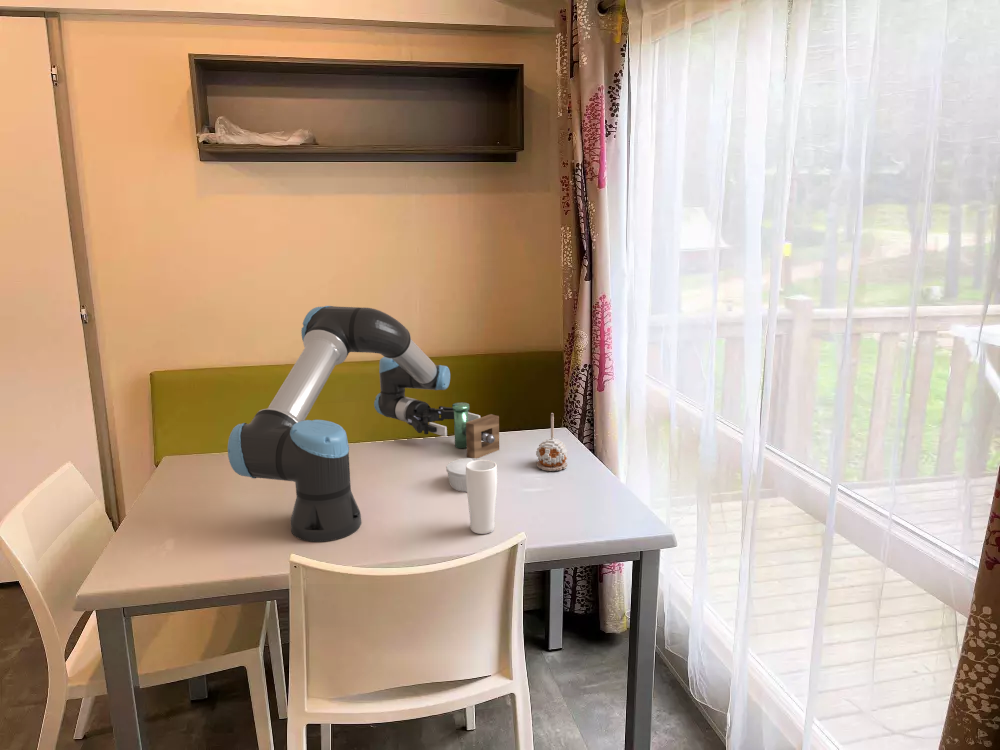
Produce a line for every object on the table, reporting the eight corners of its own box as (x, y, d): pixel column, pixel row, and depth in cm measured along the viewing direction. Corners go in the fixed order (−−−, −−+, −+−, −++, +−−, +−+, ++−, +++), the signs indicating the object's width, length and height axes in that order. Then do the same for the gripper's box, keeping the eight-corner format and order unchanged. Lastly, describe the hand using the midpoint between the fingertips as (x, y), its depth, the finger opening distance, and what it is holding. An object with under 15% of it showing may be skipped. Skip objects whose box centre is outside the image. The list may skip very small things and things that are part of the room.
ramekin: (500, 483, 185) (500, 463, 184) (472, 498, 176) (472, 477, 175) (466, 473, 191) (465, 454, 190) (438, 487, 183) (437, 467, 182)
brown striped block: (466, 456, 203) (466, 422, 200) (491, 447, 210) (491, 414, 208) (474, 459, 201) (473, 424, 199) (499, 449, 208) (498, 416, 206)
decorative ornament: (532, 469, 193) (532, 415, 190) (544, 460, 200) (544, 407, 196) (559, 474, 190) (560, 419, 186) (571, 464, 196) (571, 411, 193)
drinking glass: (488, 539, 155) (487, 473, 152) (461, 532, 159) (459, 467, 155) (503, 526, 161) (502, 462, 157) (477, 520, 164) (475, 457, 161)
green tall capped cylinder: (450, 445, 211) (448, 405, 208) (461, 441, 214) (460, 401, 211) (487, 458, 201) (487, 415, 198) (499, 453, 204) (499, 411, 201)
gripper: (443, 414, 234) (492, 427, 220) (382, 433, 216) (431, 449, 202) (443, 391, 232) (492, 403, 218) (381, 409, 214) (430, 423, 200)
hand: (463, 425), depth 210 cm, fingers open, 13 cm apart
